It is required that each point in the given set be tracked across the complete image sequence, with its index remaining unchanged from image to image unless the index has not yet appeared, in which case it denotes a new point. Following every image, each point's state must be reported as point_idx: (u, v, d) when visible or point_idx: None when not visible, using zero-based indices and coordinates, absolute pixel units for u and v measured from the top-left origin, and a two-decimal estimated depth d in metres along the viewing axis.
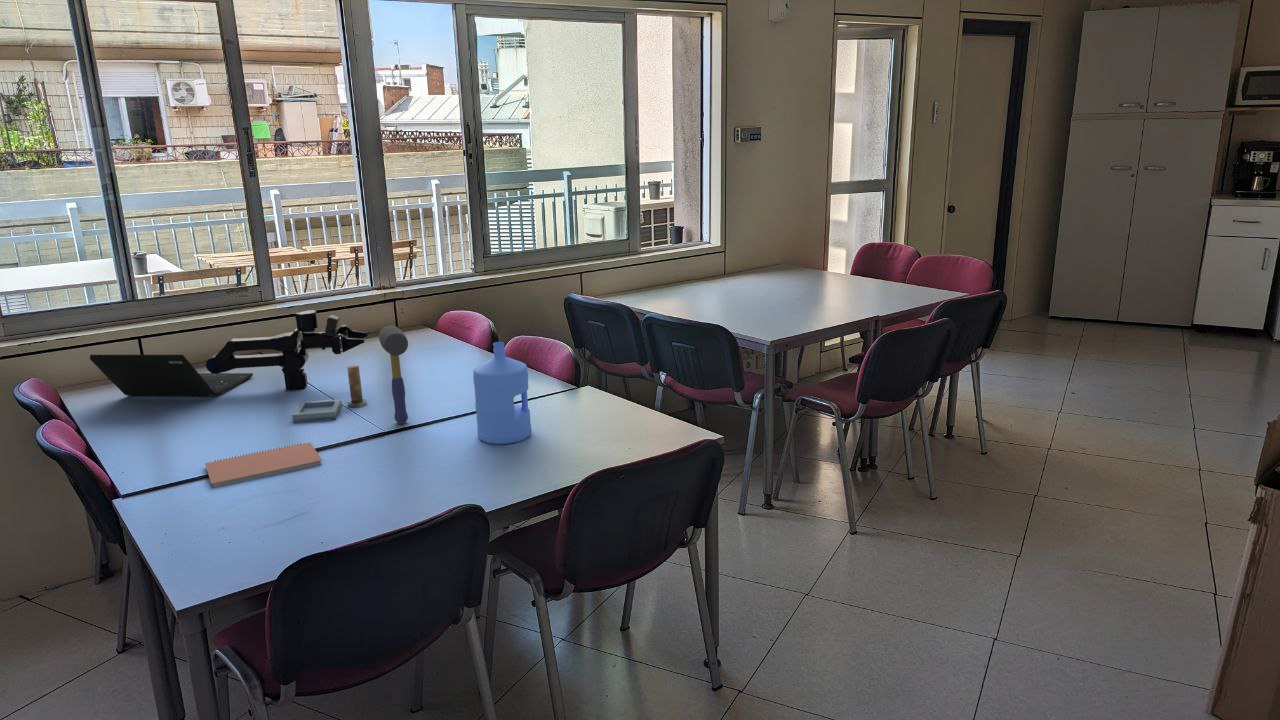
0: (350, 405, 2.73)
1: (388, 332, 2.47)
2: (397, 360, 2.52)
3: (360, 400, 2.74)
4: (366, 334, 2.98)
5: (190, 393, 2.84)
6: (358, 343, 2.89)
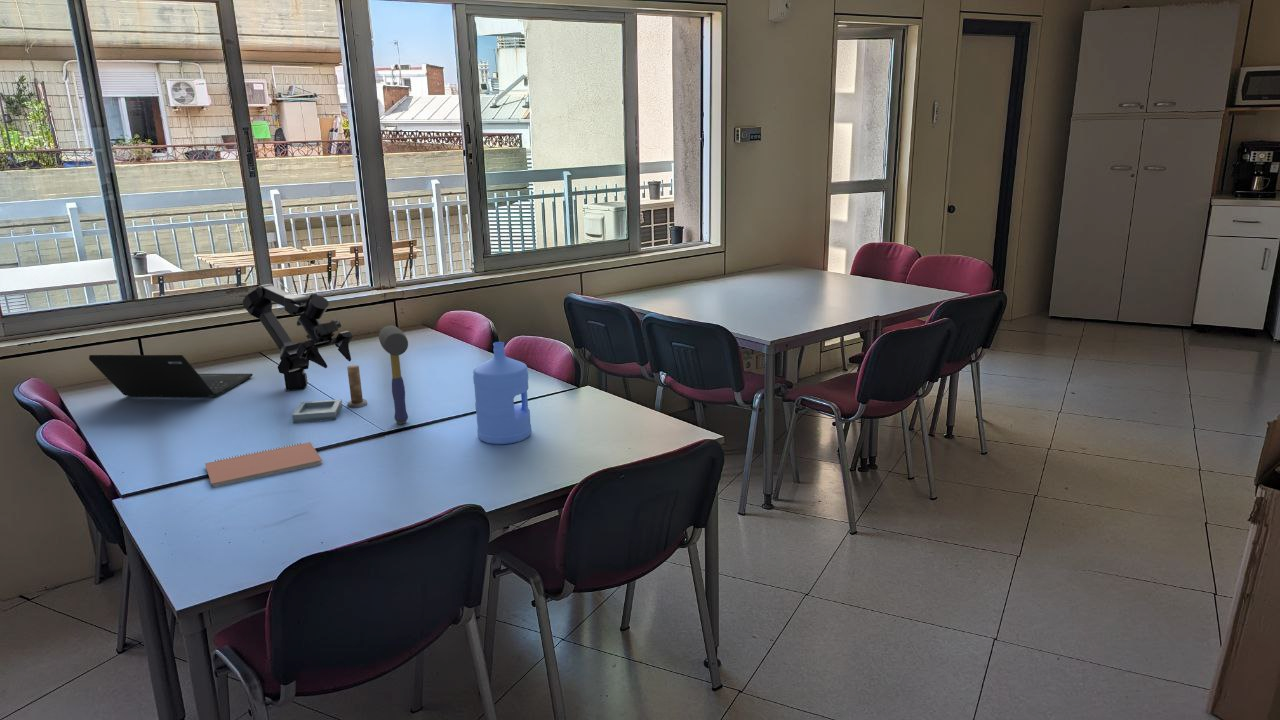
0: (350, 405, 2.73)
1: (388, 332, 2.47)
2: (397, 360, 2.52)
3: (360, 400, 2.74)
4: (349, 359, 2.80)
5: (189, 393, 2.84)
6: (321, 364, 2.73)
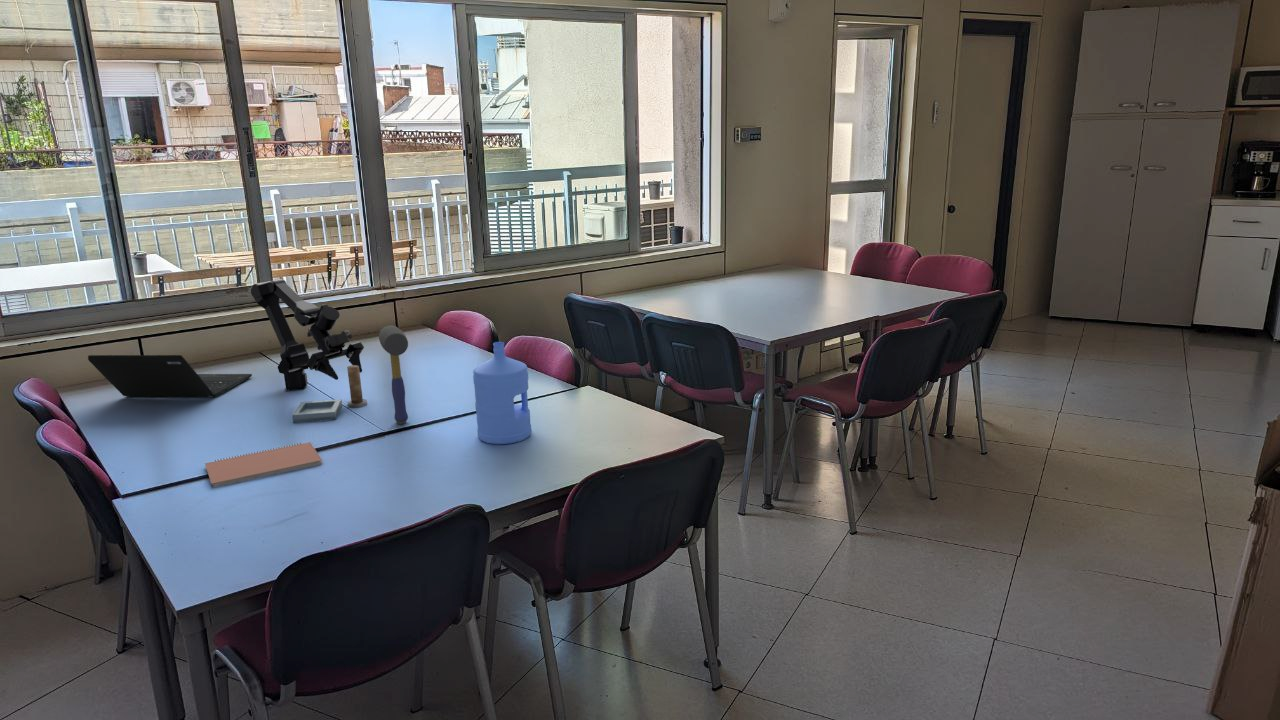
0: (350, 405, 2.73)
1: (388, 332, 2.47)
2: (397, 360, 2.52)
3: (360, 400, 2.74)
4: (360, 370, 2.78)
5: (189, 394, 2.83)
6: (331, 376, 2.71)
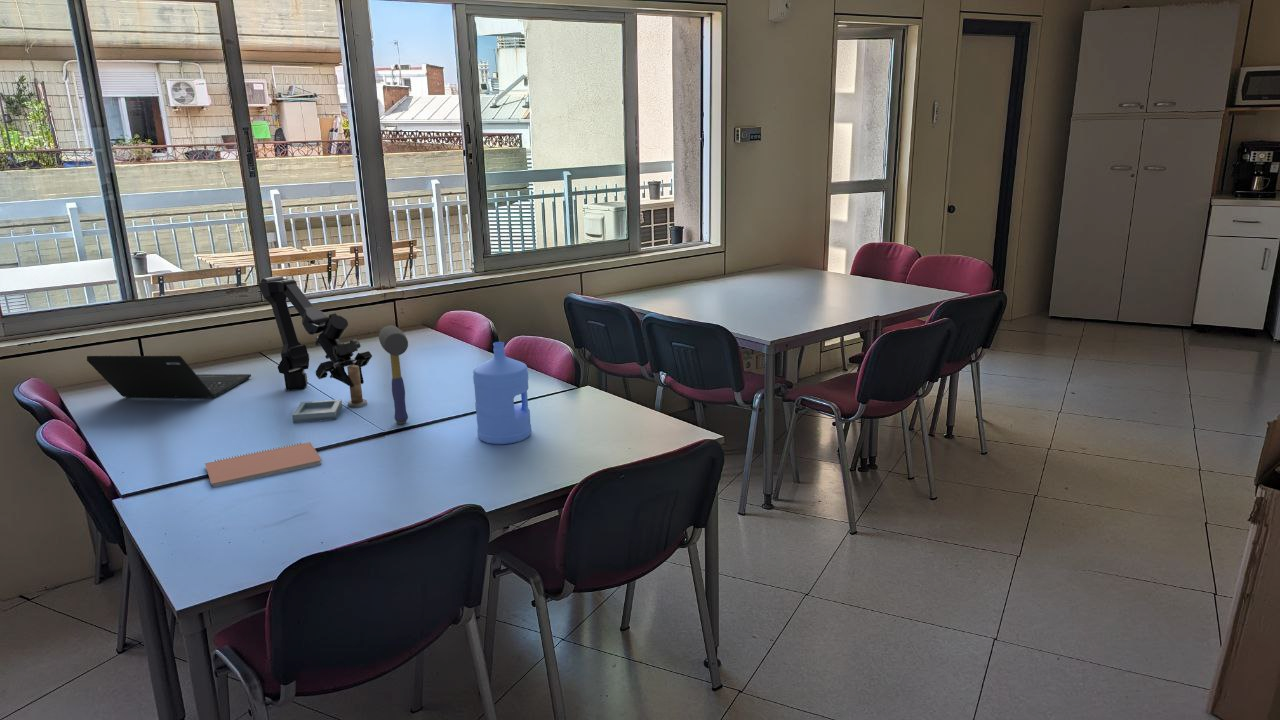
0: (350, 405, 2.73)
1: (388, 332, 2.47)
2: (397, 360, 2.52)
3: (360, 400, 2.74)
4: (361, 382, 2.74)
5: (188, 394, 2.83)
6: (347, 383, 2.71)
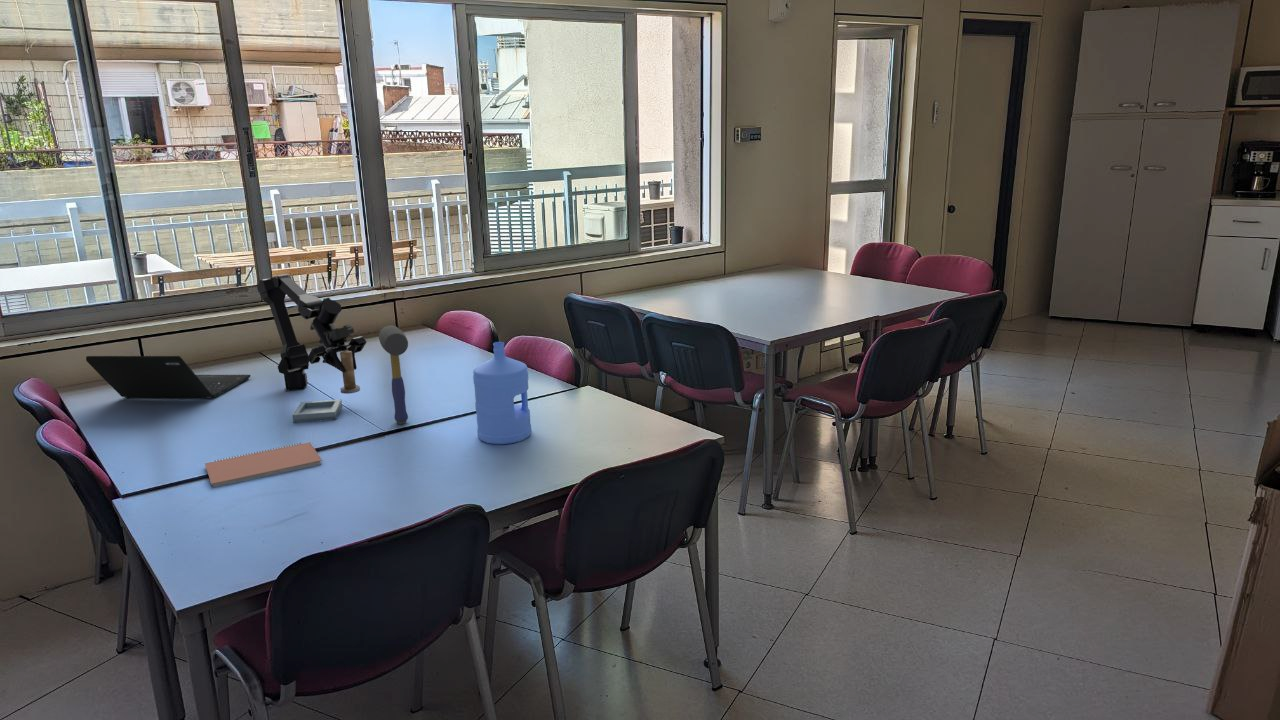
0: (342, 391, 2.70)
1: (388, 332, 2.47)
2: (397, 360, 2.52)
3: (353, 386, 2.71)
4: (354, 367, 2.71)
5: (187, 395, 2.82)
6: (339, 368, 2.69)
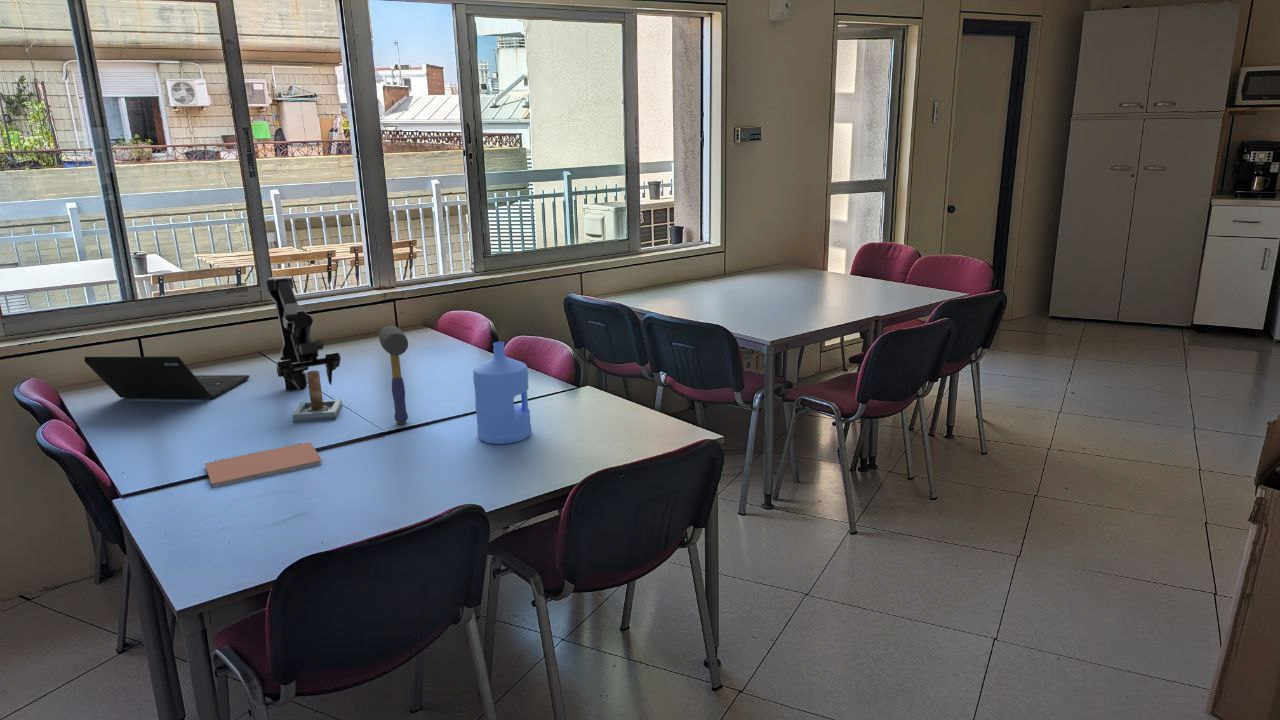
0: (308, 411, 2.65)
1: (388, 332, 2.47)
2: (397, 360, 2.52)
3: (318, 407, 2.65)
4: (329, 382, 2.66)
5: (186, 395, 2.82)
6: (296, 385, 2.62)
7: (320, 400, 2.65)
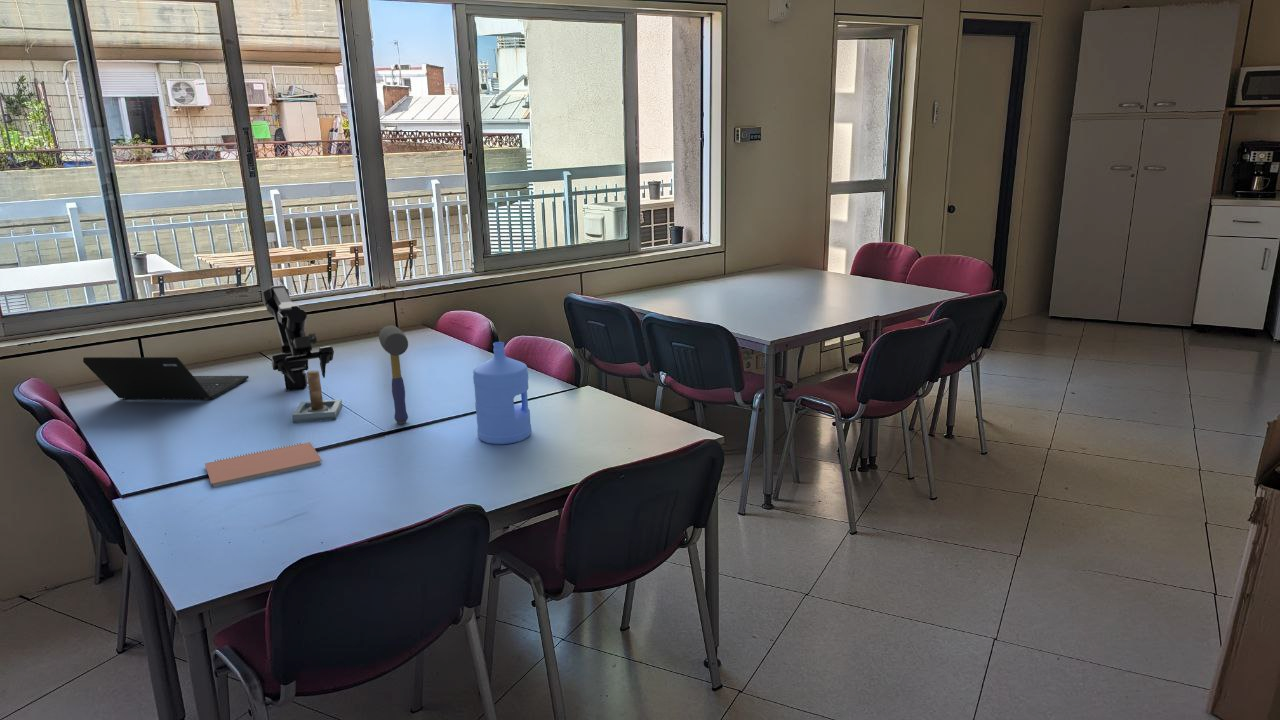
0: (308, 411, 2.65)
1: (388, 332, 2.47)
2: (397, 360, 2.52)
3: (318, 407, 2.65)
4: (323, 376, 2.73)
5: (185, 396, 2.81)
6: (290, 378, 2.69)
7: (320, 400, 2.65)
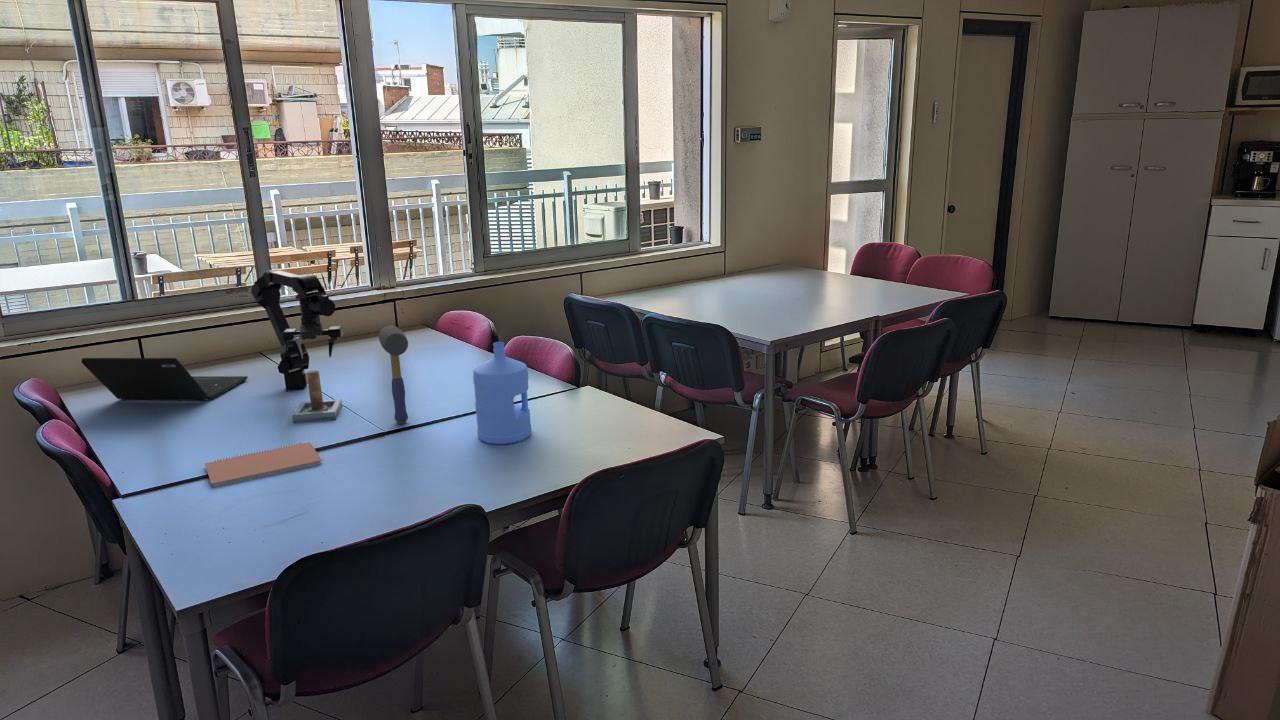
0: (308, 411, 2.65)
1: (388, 332, 2.47)
2: (397, 360, 2.52)
3: (318, 407, 2.65)
4: None
5: (183, 397, 2.81)
6: None
7: (320, 400, 2.65)
